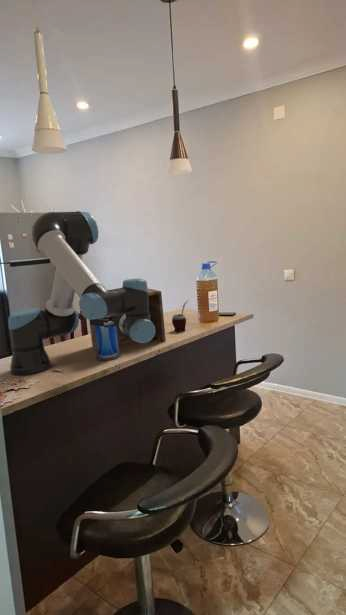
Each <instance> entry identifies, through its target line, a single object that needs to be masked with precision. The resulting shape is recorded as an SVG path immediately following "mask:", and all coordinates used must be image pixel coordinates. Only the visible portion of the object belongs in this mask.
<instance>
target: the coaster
mask: <svg viewBox="0 0 346 615" xmlns="http://www.w3.org/2000/svg"><path fill="white" fill-rule="evenodd" d="M121 355H122V354H121V353H119V352H118V354H117V356H115V357H112V358H101V357H100V356H99V355H98V354H97V356H96V357H95V358H96V360H97V361H99V362H109V361H108V360H110V361H114V359H115V360H117V358H118V359H119V357H120V358H121Z"/></svg>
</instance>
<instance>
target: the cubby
mask: <svg viewBox="0 0 346 615" xmlns="http://www.w3.org/2000/svg"><path fill="white" fill-rule="evenodd" d="M162 297H163V296H162V290H157V289H152V288H148V300H149V313H150V321H151V322H152V323H153V324H154V326H155V335H154V337H153V338H155V339H157V340H159V341H161V342H163V343H165V342H166V340H167V338H166V330H165V319H164V308H163V306H164V305H163V298H162ZM117 315H119V314H116V315H111V316H117ZM113 319H114V318H113ZM88 322H89V323H90V320H89V319H88ZM89 327H90V328H89V329H90V338H91V344H92V346H91V347H92V348H93V347H94V348H93V349H94V350H96V351H97V352H98V350H97V341H96V333H95V325H90V324H89ZM116 333H117V342H119V343H124V342H129V341H133V340H132V339H131V338H130V337H129V336H127V335H126V334H124V333H122V332H121V331H119V330H118V329H117V327H116Z"/></svg>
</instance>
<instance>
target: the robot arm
mask: <svg viewBox="0 0 346 615" xmlns="http://www.w3.org/2000/svg"><path fill="white" fill-rule="evenodd" d="M31 236H32V241H33V244H34V246H35V247H36V248H37V250H38V252H40V254H42V255H43V256H46V257H47V258H48V259H49V261H51V263H52V264H53V265H54V267H55V272H54V278H53V284H52V289H51V294H50V295H51V296H50V299H49V300H47V301H46V302H45V305H44V306H45V307H44V309H39V308H38V307H30V308H25V309H20V310H19V311H16V312H13V313H11V314H10V315H9V316H8V318H7V319H8V320H7V322H8V329H9V330H8V332H9V335H10V343H11V349H12V356H11V362H10V365H9V366H10V367H9V369H10V373H11V374H12V375H13V376H26V375H27V376H28V375H33V374H37V373H41V372H44V371H46V370H49V369H50V368H51V367H52V362H51V358H50V356H49V355H48V353H47V351H46V348H45V344H44V341H45V340H47V339H51V338H52V339H53V338H56V337H61V336H66V335H69V334H71V333H74V332H75V331H76V330H77V328H78V326H79V322H80V318H79V312H78V310H77V308H76V306H75V304H74V298H75V293H76V294H77V296H78V297H79V298H80V299H79V301H78V305H79V310H80V311H81V312H80V314H81V316H82V317H83V318H85V320H86V319H87V320H88V321H89V320H90V322H89V326H90V325H96V326H103V327H106V328H108V327H109V325H111V326H116V327H117V329H118V330H119V331H121V332H122V333H124V334H126V335H127V336H129V337H130V338H131V339H132V340H131V341H134V342H135V343H136V342H137V343H140V344H146V343H150V342H151V340H153V338H154V335H155V326H154V324H153V323H152V322H151V321H150V313H149V300H148V289H149V288H148V283H147V279H145V278H130V279H128V278H127V279H125V280H123V282H122V287H117V288H113V289H106V287H105V286H104V285H103V284H102V283H101V282H100V281H99V279H98V278H97V277H96V276H95V275H94V273H93V272H92V271H91V270H90V268H89V267H88V266H87V265H86V264H85V262H84V261H83V256H84V255H86V254H87V253H88V252H89V248H90V245H94V244H95V243H97V241H98V239H99V225H98V224H97V220H96V219H95V217H94V216H93V215H92V214H91V213H89V212H87V211H79V210H76V211H58V212H57V211H48V212H45V213H44V214H42V215H41V216H39V217H37V219H36V220H35V222H34V224H33V226H32V230H31ZM116 314H119V315H117V316H111V315H116ZM107 316H110V317H107ZM113 318H114V319H113Z"/></svg>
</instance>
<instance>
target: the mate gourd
mask: <svg viewBox="0 0 346 615" xmlns="http://www.w3.org/2000/svg"><path fill="white" fill-rule="evenodd" d="M188 302H189V300H188V299H187V300H186V301H185V302H184V303H183V305H182V311H181V313H180V314H174V315H173V316H172V318H171V323H172V326H173V327H174V330H173V331H176V333H180V332H186V324H187V318H186V316H185V315H184V314H183V313H184V310H185V307H186V304H187V303H188Z"/></svg>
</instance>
